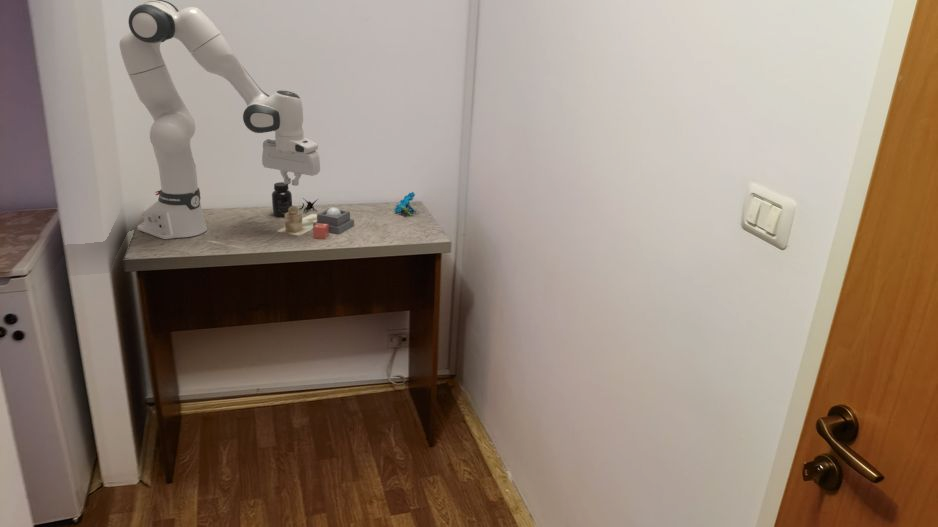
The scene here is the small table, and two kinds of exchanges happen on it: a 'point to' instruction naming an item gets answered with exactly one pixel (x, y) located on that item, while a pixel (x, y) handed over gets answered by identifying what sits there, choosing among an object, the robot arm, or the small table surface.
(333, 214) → the dome
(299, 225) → the pawn
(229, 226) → the small table surface
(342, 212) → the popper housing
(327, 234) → the die
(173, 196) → the robot arm
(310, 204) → the creature
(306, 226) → the board
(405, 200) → the blue lobed plastic figure
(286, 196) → the supplement bottle
